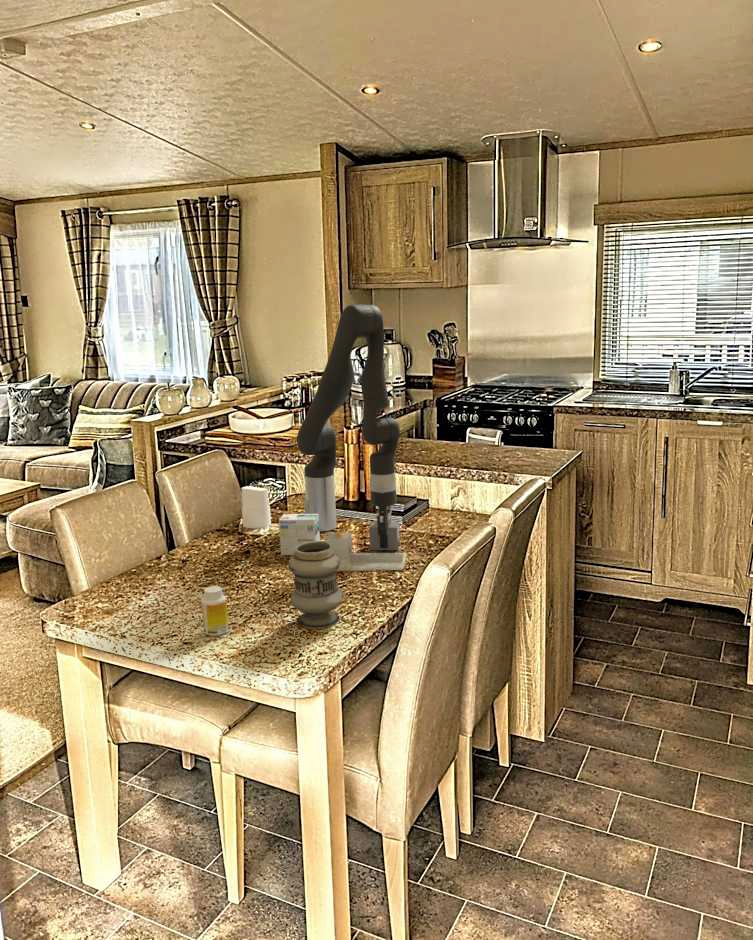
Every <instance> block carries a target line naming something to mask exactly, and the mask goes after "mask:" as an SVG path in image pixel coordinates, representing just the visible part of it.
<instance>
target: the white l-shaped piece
mask: <svg viewBox="0 0 753 940" xmlns="http://www.w3.org/2000/svg"><path fill="white" fill-rule="evenodd" d="M325 540H326V541H325V542H328V543H330V544H331V545H332V549H333V552H334V553H336V554H337V555H338V556H339V558H340V561H341V563H340V567H339V568H338V569H337V570H336V572H341V571H342V572H347V571H348V572H350V571H351V572H356V571H357V572H375V571H374V570H403V569H404V570H405V566H406V562H405V561H407V558H406V557H407V553H406V552H405V553H404V552H353V547H352V546H353V545H352V544H353V543H352V532H351V531H350V532H349V531H348V532H346V531H345V532H344V531H343V532H342V531H336V532H331V531H330V532H329V533H328V534H327V536H326V539H325ZM404 565H405V566H404ZM369 570H371V571H369Z"/></svg>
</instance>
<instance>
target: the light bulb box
mask: <svg viewBox="0 0 753 940" xmlns="http://www.w3.org/2000/svg"><path fill="white" fill-rule="evenodd" d="M278 529H279V542H280V543H279V545H280V556H293V555H294V553H295V548H296V546H298V545H300V544H302V543H306V542H313V541H321V539H320V537H321V535H320V531H319V517H318V514H305V513H288V514H287V513H283V514H282V515H281V517H280V518H279V519H278Z"/></svg>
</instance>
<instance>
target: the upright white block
mask: <svg viewBox="0 0 753 940" xmlns="http://www.w3.org/2000/svg"><path fill="white" fill-rule="evenodd" d="M241 498H242V499H241V501H242V502H241V503H242V506H241V514H242V515H241V516H242V517H241V518H242V526H243V527H244V528H245V529H263V528H267V527H269V526H271V524H272V520H271V519H272V518H271V506H270V503H269V500H270V499H269V489H268V488H263V487H259V486H258V487H256V486H248V485H246V486H243V487H241ZM266 526H267V527H266Z"/></svg>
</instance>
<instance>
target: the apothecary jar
mask: <svg viewBox="0 0 753 940" xmlns="http://www.w3.org/2000/svg"><path fill="white" fill-rule="evenodd" d="M340 563H341V561H340V558H339V556H338V555H337V554H336V553H334V552H333V549H332V545H331V544H330V543H328V542H326V541H321V540H320V541H313V542H306V543H302V544H300V545H298V546H296V548H295V553H294V555H291V557H290V559H289V561H288V568H289V570H290V572H291V573H293V574H294V589H293V591H292V593H291V595H290V603H291V605H292V606H293V607H294V608H295V609H296V610H297V611H299V612H301V613H302V614H300V615H299V616H298V617H297V619H296V624H297V625H298V626H302V628H303V629H309V630H322V628H324V629H327V628H326V627H328V628H330V627H329V626H331V625H334V624H335V625H337V624H338V623H339V622H338V621H340V616H339V615H338V614H337V613H335V612H333V611H334V610H335V609H337V608H338V607H339V606H340V605H341V604H342V602H343V600H344V592H343V590H342V588H340V587H339V586H338V583H337V582H338V581H337V571H336V570H337V569H338V568H339V567H340ZM337 622H338V623H337ZM336 623H337V624H336ZM335 625H334V626H335ZM331 627H332V626H331Z"/></svg>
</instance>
